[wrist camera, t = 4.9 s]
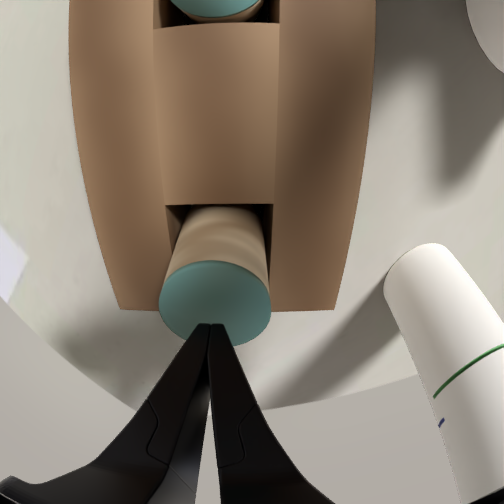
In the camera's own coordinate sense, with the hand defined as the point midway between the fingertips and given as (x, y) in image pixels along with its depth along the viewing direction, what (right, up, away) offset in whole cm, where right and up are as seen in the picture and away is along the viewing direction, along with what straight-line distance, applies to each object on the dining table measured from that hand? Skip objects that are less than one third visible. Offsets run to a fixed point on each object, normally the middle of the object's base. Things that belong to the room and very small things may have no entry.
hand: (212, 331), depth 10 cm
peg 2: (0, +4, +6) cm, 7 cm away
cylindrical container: (+16, 0, +14) cm, 21 cm away
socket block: (0, +11, +6) cm, 12 cm away
